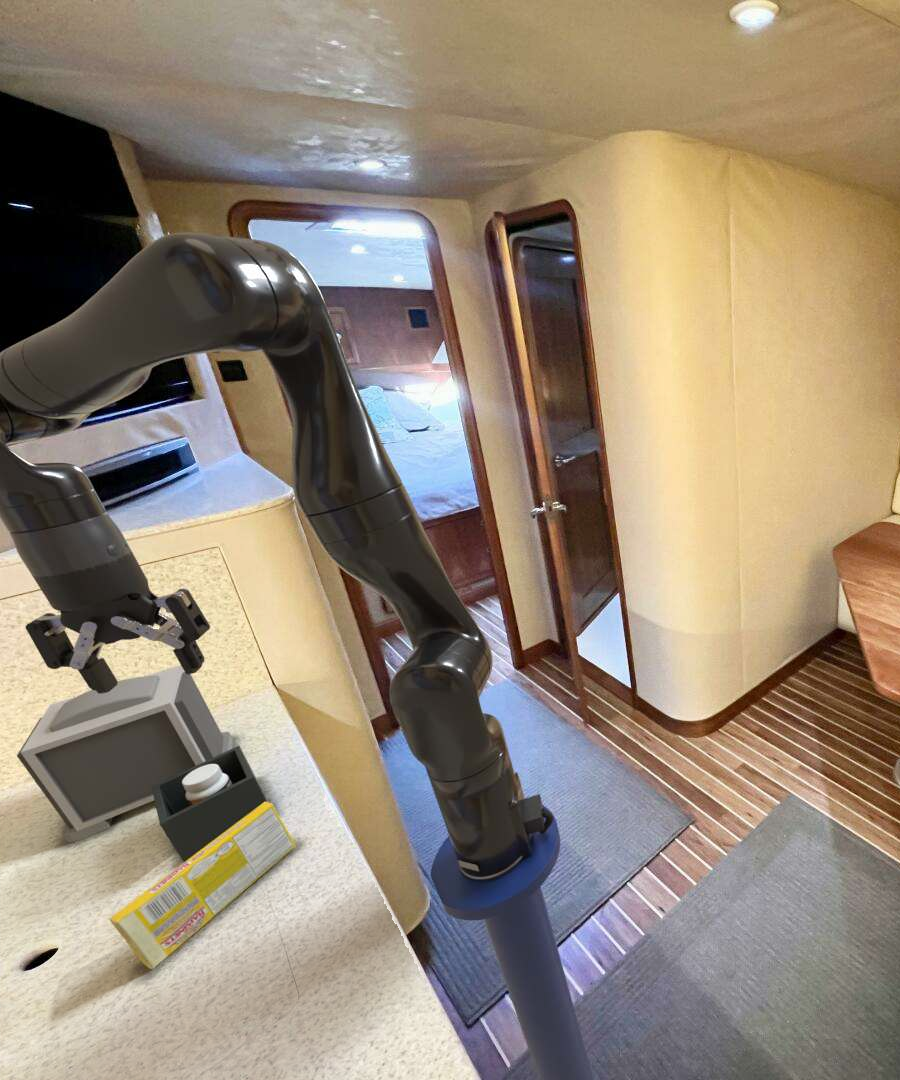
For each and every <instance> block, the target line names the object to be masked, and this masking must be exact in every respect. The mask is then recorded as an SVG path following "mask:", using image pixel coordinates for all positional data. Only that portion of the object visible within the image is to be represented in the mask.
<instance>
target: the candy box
mask: <svg viewBox="0 0 900 1080" xmlns="http://www.w3.org/2000/svg"><path fill="white" fill-rule="evenodd" d="M296 848H297V845H296V842H295V841H294V839H293V837H292V836H291V834H290V833H289V831H288V830H287V827H286V826H285V824H284V822H283V821H282V819H281V817H280V815H279V813H278V812H277V810H276V808H275V805H274V804H273V803H272V802H268V801H267V802H264V803H262V804H261V805H260V806H258V807H257V808H256V809H254V810H253V811H252V812H250V813H249V814H248V815H246V816H245V817H244V818H242V819H241V820H240V821H238V822H237V823H236V824H234V825H233V826H232V827H230V828H229V829H228V830H226V831H225V832H224V833H223V834H221V835H220V836H219V837H217V838H216V839H215V840H213V841H212V842H211V843H209V844H208V845H207V846H205V847H204V848H203V849H201V850H200V851H199V852H197V853H196V854H195V855H193V856H192V857H191V858H189V859H188V860H187V861H185V862H183V863H181V864H180V865H178V866H177V867H176V868H175V869H174V870H172V871H170V873H167V875H164V877H163V878H161V879H160V880H158V881H157V882H156V883H155V884H152V886H151V887H149V888H148V889H146V890H145V891H144V892H143V893H142V894H140V895H138V896H137V897H136V898H134V899H133V900H132V901H130V902H129V903H128V904H126V905H125V906H124V907H123V908H121V909H119V911H117V912H116V913H115V914H113V915H111V917H109V918H108V920H109V922H110V923H111V924H112V925H113V927H114V928H115V929H116V931H117V932H118V933H119V934H120V936H121V937H122V938H123V940H124V941H125V942H126V943H127V944H128V945H129V947H130V948H131V950H132V951H133V952H134V954H135V955H136V956H137V958H138V959H139V960H140V962H141V963H142V964H143V965H144V966H145V967H146V968H148V969H150V970H153V969H155V968H156V967H157V966H158V965H159V964H161V963H162V962H164V960H165V959H167V957H169V956H170V955H171V954H172V953H174V952H175V951H176V950H177V949H178V948H179V947H181V946H182V945H183V944H184V943H185V942H186V941H188V939H190V938H191V937H192V936H193V935H194V934H196V933H197V932H198V931H199V930H201V929H202V928H203V927H204V926H205V925H207V924H208V922H210V921H211V920H212V919H214V918H215V916H216V915H218V914H219V913H220V912H221V911H222V910H224V909H225V908H227V906H228V905H229V904H231V903H232V902H233V901H234V900H235V899H237V898H238V897H239V896H240V895H241V894H242V893H244V891H246V890H247V889H248V888H249V887H251V886H252V885H253V884H254V883H255V882H256V881H258V880H259V879H260V878H261V877H262V876H263V875H265V874H266V873H267V872H268V871H269V870H270V869H272V868H273V867H274V866H275V865H276V864H278V863H279V861H281V860H282V859H283V858H284V857H286V856H287V855H288V854H289V853H290V852H292V851H293V850H294V849H296Z"/></svg>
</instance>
